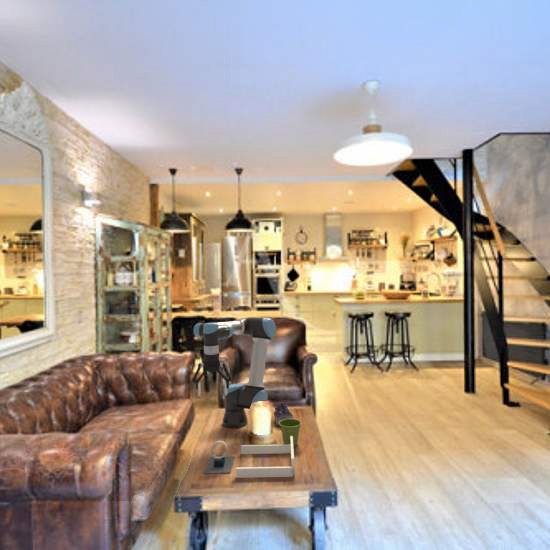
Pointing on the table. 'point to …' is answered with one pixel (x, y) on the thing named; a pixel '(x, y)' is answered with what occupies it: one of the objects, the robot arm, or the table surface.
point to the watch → (218, 459)
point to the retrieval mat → (219, 470)
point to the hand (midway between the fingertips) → (212, 395)
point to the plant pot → (290, 430)
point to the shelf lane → (267, 471)
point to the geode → (282, 413)
